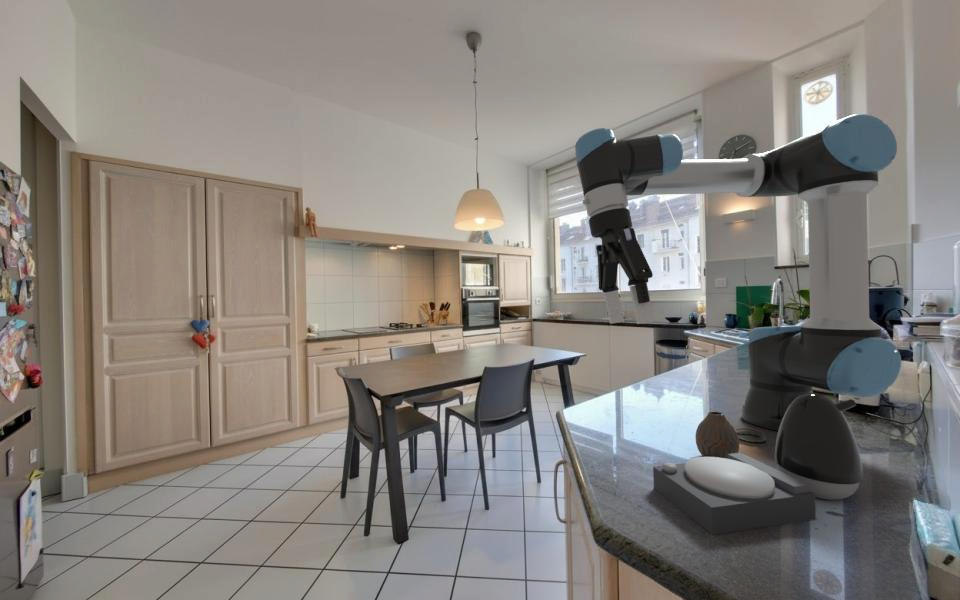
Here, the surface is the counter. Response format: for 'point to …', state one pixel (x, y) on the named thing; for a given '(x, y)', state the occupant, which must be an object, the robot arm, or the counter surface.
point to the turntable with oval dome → (734, 493)
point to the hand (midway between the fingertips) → (630, 322)
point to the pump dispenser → (819, 446)
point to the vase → (716, 436)
